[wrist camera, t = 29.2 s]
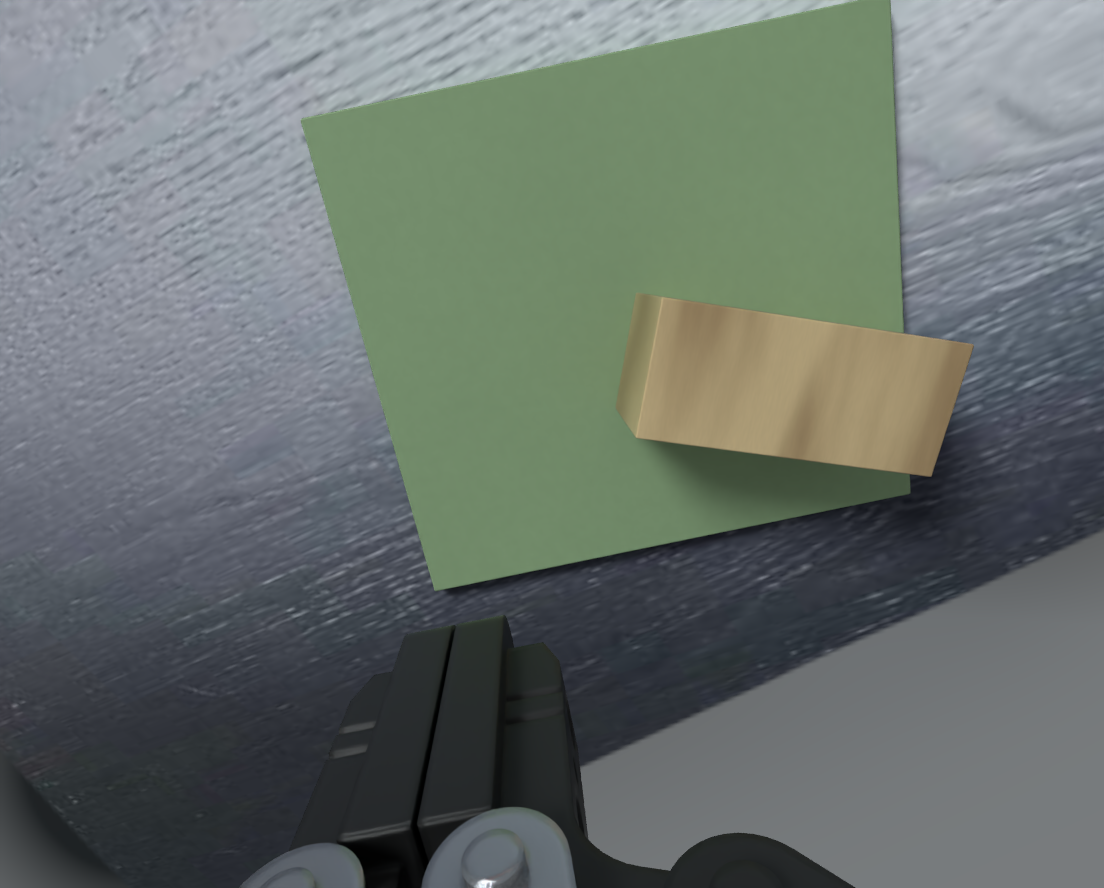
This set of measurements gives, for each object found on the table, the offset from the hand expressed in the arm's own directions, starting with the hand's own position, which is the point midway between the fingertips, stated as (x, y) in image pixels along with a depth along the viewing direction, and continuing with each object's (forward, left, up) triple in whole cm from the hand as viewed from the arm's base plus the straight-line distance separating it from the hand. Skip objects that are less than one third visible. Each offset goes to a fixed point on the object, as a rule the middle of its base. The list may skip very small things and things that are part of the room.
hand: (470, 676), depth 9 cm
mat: (+3, -6, -15) cm, 17 cm away
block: (+2, -5, -13) cm, 14 cm away
